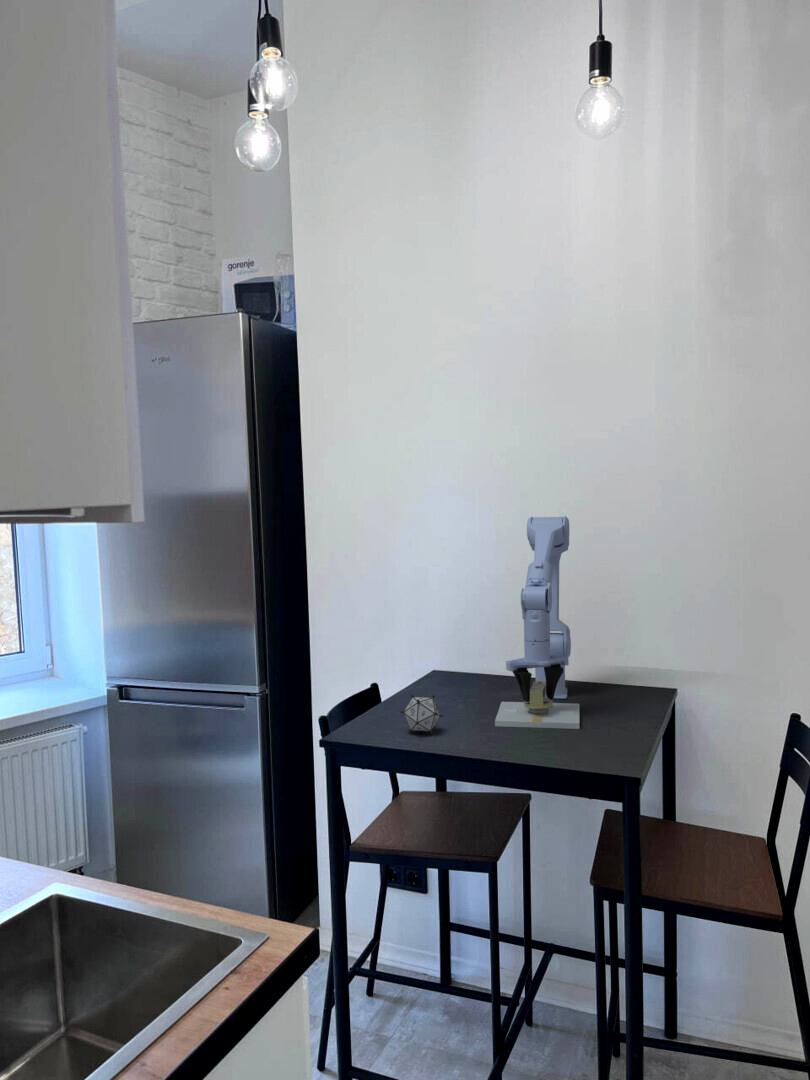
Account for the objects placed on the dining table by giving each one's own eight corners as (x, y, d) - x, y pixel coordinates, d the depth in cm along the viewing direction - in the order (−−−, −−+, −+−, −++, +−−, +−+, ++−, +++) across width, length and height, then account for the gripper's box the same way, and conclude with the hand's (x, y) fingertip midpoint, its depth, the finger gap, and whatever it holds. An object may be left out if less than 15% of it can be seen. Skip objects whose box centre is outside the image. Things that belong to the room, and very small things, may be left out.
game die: (429, 747, 182) (455, 708, 183) (420, 744, 174) (447, 704, 175) (397, 723, 185) (423, 685, 186) (386, 719, 177) (413, 680, 178)
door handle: (521, 710, 185) (521, 690, 185) (526, 699, 194) (525, 680, 194) (551, 711, 184) (550, 691, 183) (554, 700, 192) (553, 681, 192)
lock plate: (501, 706, 199) (501, 696, 199) (579, 708, 195) (579, 698, 195) (495, 726, 183) (494, 715, 183) (579, 728, 179) (579, 717, 179)
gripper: (515, 645, 182) (516, 707, 183) (575, 639, 186) (575, 700, 187) (501, 639, 189) (502, 699, 189) (559, 634, 193) (560, 693, 194)
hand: (538, 699), depth 189 cm, fingers closed on door handle, 5 cm apart
